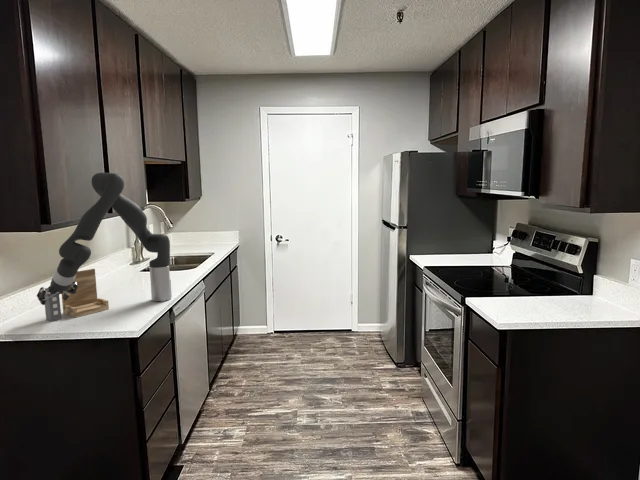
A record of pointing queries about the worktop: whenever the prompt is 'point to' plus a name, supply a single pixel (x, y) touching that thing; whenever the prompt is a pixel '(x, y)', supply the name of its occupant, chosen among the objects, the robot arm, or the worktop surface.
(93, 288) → the wooden angled stand
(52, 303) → the power strip
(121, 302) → the worktop surface
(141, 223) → the robot arm
